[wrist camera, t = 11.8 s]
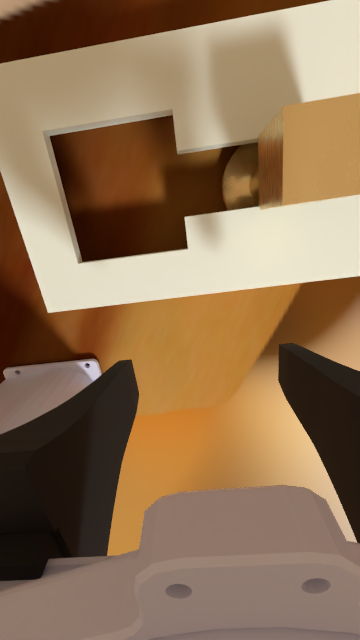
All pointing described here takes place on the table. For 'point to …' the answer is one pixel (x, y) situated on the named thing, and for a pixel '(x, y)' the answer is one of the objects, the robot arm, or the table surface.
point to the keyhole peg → (298, 157)
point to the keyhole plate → (183, 150)
